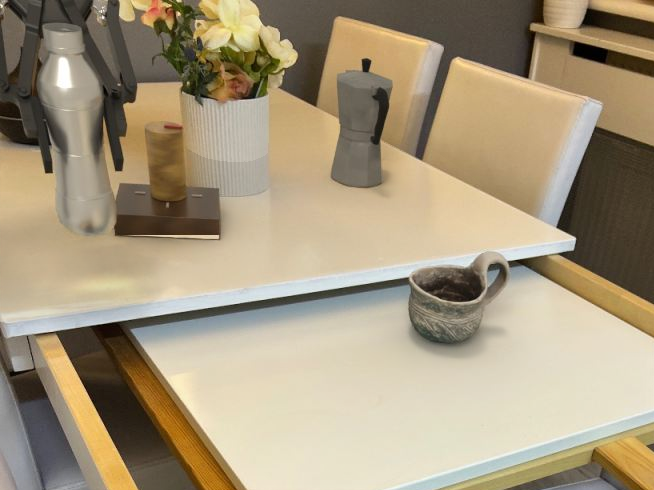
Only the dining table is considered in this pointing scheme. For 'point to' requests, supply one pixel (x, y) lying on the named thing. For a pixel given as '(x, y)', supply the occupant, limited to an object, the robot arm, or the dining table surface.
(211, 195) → the dark brown flat block
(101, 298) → the dining table surface
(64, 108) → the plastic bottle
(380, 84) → the coffeepot
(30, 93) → the robot arm
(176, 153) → the candle
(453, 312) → the mug
